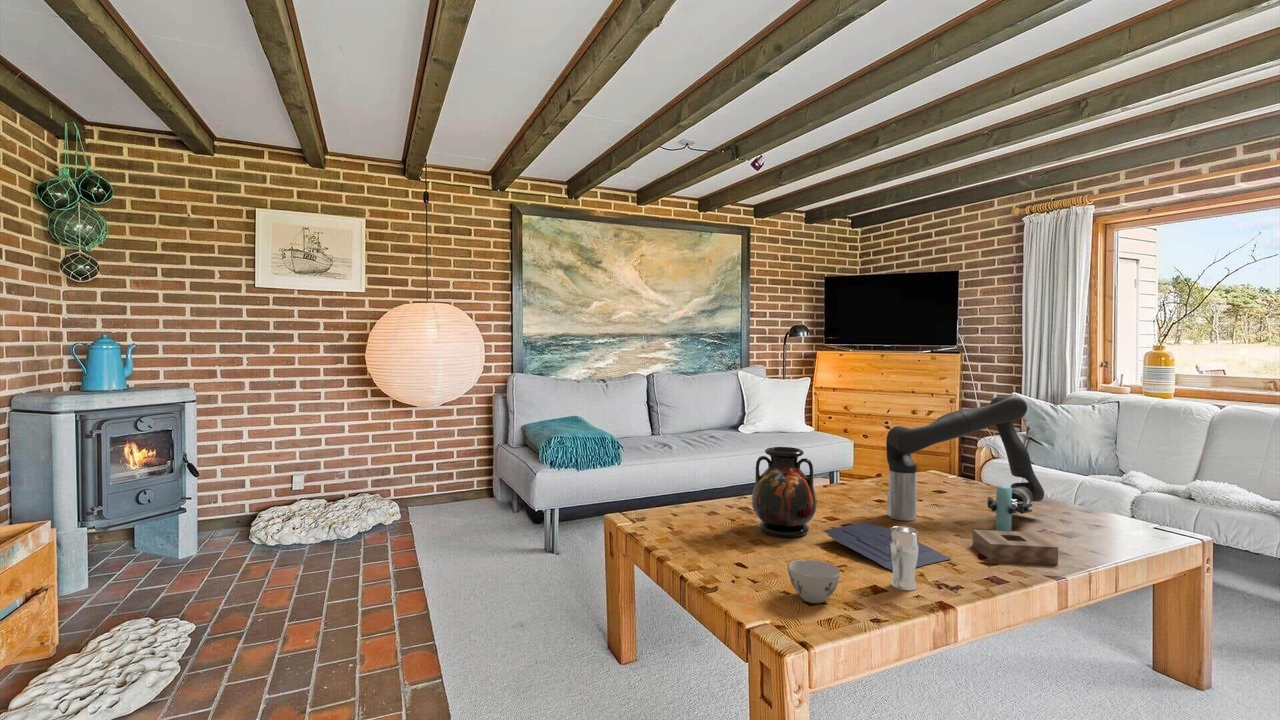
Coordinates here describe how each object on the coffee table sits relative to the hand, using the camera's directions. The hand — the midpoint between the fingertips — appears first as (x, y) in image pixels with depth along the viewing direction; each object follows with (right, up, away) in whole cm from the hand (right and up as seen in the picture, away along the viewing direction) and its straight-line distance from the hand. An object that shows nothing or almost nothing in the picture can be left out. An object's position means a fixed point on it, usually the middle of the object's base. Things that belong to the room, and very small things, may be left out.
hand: (1001, 509), depth 200 cm
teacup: (-77, -11, -47) cm, 91 cm away
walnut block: (-6, -9, -17) cm, 20 cm away
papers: (-45, -10, -13) cm, 48 cm away
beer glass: (-50, -10, -41) cm, 65 cm away
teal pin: (+2, -9, +2) cm, 9 cm away
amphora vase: (-70, -9, +6) cm, 71 cm away
